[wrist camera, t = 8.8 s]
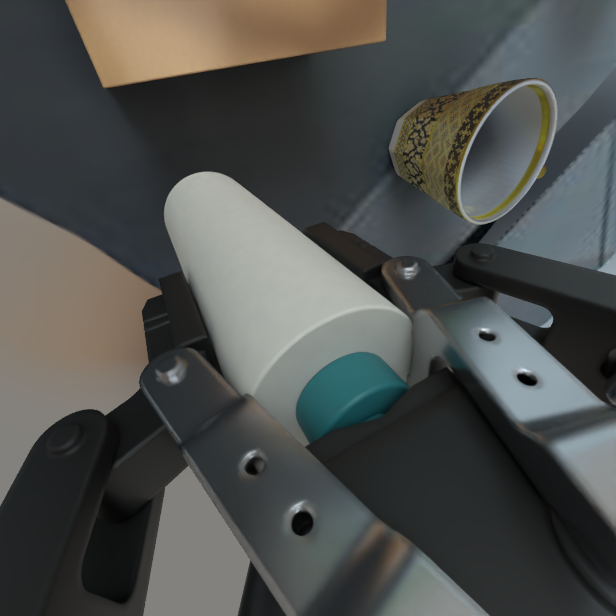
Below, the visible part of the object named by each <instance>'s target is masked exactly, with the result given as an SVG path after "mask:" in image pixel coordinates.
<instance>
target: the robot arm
mask: <svg viewBox="0 0 616 616" xmlns="http://www.w3.org/2000/svg"><path fill="white" fill-rule="evenodd" d="M303 234H304V235H305V236H306V237H308V238H309V239H310V240H311V241H313V242H314V243H315V244H317V245H318V246H319V247H320V248H322V249H323V250H324V251H325V252H327V253H328V254H329V255H331V256H332V257H333V258H334V259H336V260H337V261H338V262H340V263H341V264H342V265H343V266H345V267H346V268H347V269H349V270H350V271H351V272H352V273H354V274H355V275H356V276H357V277H359V278H360V279H361V280H363V281H364V282H365V283H366V284H368V285H369V286H370V287H372V288H373V289H374V290H375V291H377V292H378V293H379V294H380V295H382V296H383V297H384V298H386V299H387V300H388V301H389V302H391V303H392V304H393V305H395V306H396V307H397V308H398V309H400V310H401V311H402V312H403V313H405V314H406V315H407V316H408V317H409V318H410V320H411V322H412V331H411V334H412V338H413V353H412V362H411V371H410V374H408V375H407V380H406V384H407V385H408V386H409V387H410V389H409V390H408V391H407V392H406V393H405V394H404V395H403V396H402V397H401V398H400V399H399V400H398V401H397V402H396V404H395V405H394V406H393V407H392V408H391V409H390V410H389V411H388V412H387V413H386V414H385V415H384V416H382V417H380V418H377V419H374V420H370V421H366V422H363V423H359V424H355V425H352V426H348V427H344V428H341V429H337V430H333V431H332V432H330V433H328V434H326V435H324V436H323V437H321V438H319V439H317V440H316V441H314V442H312V443H310V444H308V445H307V446H305V447H304V446H303V445H302V444H301V443H300V442H299V441H298V440H297V439H296V438H295V437H294V436H293V435H292V434H291V433H290V432H289V431H288V430H287V429H286V428H285V427H284V426H283V425H282V424H281V423H280V422H279V421H278V420H277V419H276V418H274V417H273V416H272V415H271V414H270V413H269V412H268V411H267V410H266V409H265V408H264V407H263V406H262V405H261V404H260V403H259V402H258V401H257V400H256V399H255V398H254V397H253V396H251V395H250V394H248V393H245V394H244V395H243V396H241V395H240V394H239V393H238V392H237V391H236V390H235V389H234V388H233V387H232V386H231V385H230V384H229V383H228V382H227V381H226V380H225V379H224V376H223V373H222V371H221V368H220V365H219V363H218V359H217V357H216V354H215V351H214V349H213V346H212V344H211V341H210V339H209V336H208V333H207V331H206V328H205V326H204V323H203V321H202V318H201V315H200V313H199V310H198V308H197V305H196V302H195V300H194V297H193V295H192V292H191V290H190V287H189V285H188V283H187V280H186V278H185V276H184V274H183V272H182V271H180V272H177V273H174V274H171V275H168V276H165V277H162V278H159V282H160V286H161V290H162V295H159V296H157V297H154V298H151V299H148V300H147V302H146V304H145V306H144V308H143V310H142V316H143V322H144V330H145V338H146V345H147V352H148V359H149V364H148V365H147V366H146V367H145V369H144V370H143V372H142V374H141V376H140V381H139V384H140V389H139V390H138V391H137V392H136V393H135V394H134V395H133V396H132V397H131V398H129V399H128V400H127V401H125V402H124V403H123V404H121V405H120V406H118V407H117V408H116V409H114V410H113V411H111V412H110V413H108V414H107V415H106V416H105V415H104V414H102V413H101V412H100V411H98V410H93V409H87V410H81V411H78V412H75V413H72V414H70V415H68V416H66V417H64V418H62V419H61V420H59V421H58V422H56V423H55V424H53V425H52V426H51V427H50V428H48V429H47V430H46V431H45V432H44V433H43V434H42V435H41V436H40V437H39V439H38V440H37V441H36V442H35V444H34V446H33V447H32V449H31V450H30V452H29V454H28V456H27V458H26V460H25V461H24V463H23V465H22V467H21V469H20V471H19V473H18V474H17V477H16V478H15V480H14V482H13V484H12V486H11V487H10V490H9V491H8V493H7V495H6V497H5V499H4V501H3V502H2V504H1V506H0V616H143V613H144V607H145V601H146V595H147V590H148V584H149V578H150V572H151V566H152V560H153V555H154V549H155V544H156V537H157V532H158V526H159V521H160V514H161V509H162V503H163V497H164V491H165V486H167V485H168V484H169V483H170V482H171V481H172V480H173V479H174V478H175V477H177V476H178V475H179V474H180V473H181V472H182V471H183V470H184V469H185V468H186V467H188V466H190V468H191V469H192V471H193V472H194V474H195V476H196V477H197V479H198V480H199V482H200V483H201V485H202V486H203V488H204V489H205V491H206V492H207V494H208V495H209V497H210V498H211V500H212V502H213V503H214V505H215V506H216V508H217V509H218V511H219V512H220V514H221V515H222V517H223V519H224V520H225V522H226V523H227V525H228V526H229V528H230V529H231V531H232V533H233V534H234V536H235V537H236V539H237V540H238V542H239V543H240V545H241V546H242V548H243V549H244V551H245V552H246V554H247V555H248V557H249V558H250V564H249V569H248V573H247V578H246V582H245V586H244V591H243V595H242V599H241V603H240V608H239V612H238V616H616V275H612V274H607V273H604V272H599V271H595V270H591V269H587V268H583V267H579V266H575V265H571V264H567V263H563V262H559V261H555V260H551V259H547V258H543V257H538V256H534V255H530V254H526V253H522V252H518V251H514V250H510V249H506V248H502V247H498V246H494V245H489V244H480V243H476V244H468V245H464V246H462V247H460V248H458V249H457V250H456V253H455V258H454V263H450V264H445V265H439V266H433V267H432V266H431V265H430V264H429V263H428V262H427V261H425V260H423V259H421V258H417V257H411V256H401V257H396V258H392V257H390V256H389V255H387V254H385V253H384V252H382V251H380V250H379V249H377V248H376V247H374V246H372V245H371V246H370V244H369V243H368V242H366V241H363V240H362V239H361V238H360V237H358V236H356V235H355V234H353V233H349V232H345V231H341V230H340V231H337V230H335V229H334V228H332V227H331V226H329V225H328V224H326V223H324V222H322V223H319V224H316V225H313V226H310V227H308V228H305V229H304V230H303ZM499 293H503V294H506V295H509V296H512V297H515V298H518V299H522V300H525V301H528V302H531V303H534V304H537V305H540V306H542V307H545V308H546V309H548V310H549V311H550V312H551V314H552V316H553V323H552V325H551V327H549V328H541V327H538V326H535V325H532V324H529V323H527V322H524V321H521V320H518V319H516V318H513V317H510V316H508V315H507V314H506V313H505V312H504V311H503V310H502V309H501V308H499V307H498V306H497V305H496V303H497V299H498V296H499Z"/></svg>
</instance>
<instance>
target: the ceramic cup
mask: <svg viewBox="0 0 616 616" xmlns="http://www.w3.org/2000/svg"><path fill="white" fill-rule="evenodd" d="M557 115H558V111H557V100H556V96H555V93H554V91H553V89H552V87H551V86H550V85H549V84H548V83H547V82H546V81H544V80H542V79H538V78H528V79H519V80H512V81H507V82H502V83H497V84H492V85H487V86H484V87H480V88H477V89H474V90H470V91H465V92H459V93H454V94H450V95H445V96H441V97H436V98H431V99H427V100H423V101H420V102H419V103H418V104H416V105H415V106H414V107H413V108H411V109H410V110H409V111H408V112H407V113H405V114H404V115H403V116H402V117H401V118H399V119H398V120H397V123H396V126H395V129H394V132H393V136H392V139H391V142H390V145H389V152H390V156H391V159H392V162H393V165H394V169H395V172H396V173H397V175H399V176H400V177H402V178H403V179H404V180H406V181H408V182H409V183H411V184H412V185H414V186H415V187H417V188H418V189H420V190H421V191H423V192H424V193H426V194H428V195H429V196H431V197H432V198H433V199H434V200H436V201H437V202H438V203H439V204H441V205H442V206H444V207H445V208H447V209H448V210H450V211H451V212H453V213H454V214H456V215H458V216H460V217H461V218H463V219H465V220H467V221H469V222H471V223H473V224H486V223H489V222H492V221H495V220H496V219H498V218H500V217H502V216H503V215H504V214H506V213H507V212H508V211H510V210H511V209H512V208H513V207H514V206H515V205H516V204H517V203H518V202H519V201H520V200H521V199H522V198H523V196H524V195H525V194H526V192H527V191H528V190H529V189H530V187H531V186H532V184H533V183H534V181H535V180H536V178H541V177H543V176H544V174H545V172H546V170H547V168H546V166H545V165H544V163H545V161H546V159H547V156H548V154H549V151H550V148H551V146H552V143H553V139H554V135H555V131H556V125H557Z"/></svg>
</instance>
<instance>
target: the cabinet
mask: <svg viewBox="0 0 616 616" xmlns="http://www.w3.org/2000/svg"><path fill="white" fill-rule="evenodd" d="M386 1H387V0H65V2H66V4H67V6H68V8H69V11H70V13H71V15H72V17H73V20H74V22H75V24H76V27H77V29H78V31H79V33H80V36H81V38H82V40H83V42H84V45H85V47H86V49H87V52H88V54H89V56H90V58H91V61H92V63H93V65H94V67H95V70H96V72H97V74H98V77H99V79H100V81H101V83H102V86H103V87H104V88H111V87H117V86H123V85H129V84H134V83H140V82H146V81H152V80H158V79H164V78H170V77H176V76H182V75H188V74H194V73H200V72H206V71H211V70H217V69H223V68H229V67H235V66H241V65H247V64H253V63H259V62H265V61H271V60H277V59H283V58H288V57H294V56H300V55H306V54H312V53H318V52H324V51H330V50H336V49H342V48H348V47H354V46H360V45H365V44H371V43H377V42H383V41H385V40H386Z"/></svg>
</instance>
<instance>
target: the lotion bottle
mask: <svg viewBox="0 0 616 616" xmlns="http://www.w3.org/2000/svg"><path fill="white" fill-rule="evenodd" d="M164 220H165V225H166V228H167V231H168V233H169V236H170V239H171V241H172V244H173V246H174V249H175V252H176V254H177V257H178V259H179V262H180V264H181V267H182V270H183V272H184V275H185V277H186V280H187V283H188V285H189V287H190V290H191V292H192V295H193V297H194V300H195V302H196V305H197V308H198V310H199V313H200V315H201V318H202V321H203V323H204V326H205V328H206V331H207V333H208V336H209V339H210V341H211V344H212V346H213V349H214V351H215V354H216V357H217V359H218V363H219V365H220V368H221V371H222V373H223V376H224V379H225V380H226V381H227V382H228V383H229V384H230V385H231V386H232V387H233V388H234V389H235V390H236V391H237V392H238V393H239V394H240V395H241V396H243V395H244V394H245V393H248V394H250V395H251V396H253V397H254V398H255V399H256V400H257V401H258V402H259V403H260V404H261V405H262V406H263V407H264V408H265V409H266V410H267V411H268V412H269V413H270V414H271V415H272V416H273V417H274V418H276V419H277V420H278V421H279V422H280V423H281V424H282V425H283V426H284V427H285V428H286V429H287V430H288V431H289V432H290V433H291V434H292V435H293V436H294V437H295V438H296V439H297V440H298V441H299V442H300V443H301V444H302V445H303V446H304V447H305V446H307V445H308V444H310V443H312V442H314V441H316V440H317V439H319V438H321V437H323V436H324V435H326V434H328V433H330V432H332V431H333V430H337V429H341V428H344V427H348V426H352V425H355V424H359V423H363V422H366V421H370V420H374V419H377V418H380V417H382V416H384V415H385V414H386V413H387V412H388V411H389V410H390V409H391V408H392V407H393V406H394V405H395V404H396V402H397V401H398V400H399V399H400V398H401V397H402V396H403V395H404V394H405V393H406V392H407V391H408V390H409V389H410V387H409V386H408V385H407V384H406V380H407V375H408V374H410V371H411V362H412V353H413V338H412V334H411V331H412V322H411V320H410V318H409V317H408V316H407V315H406V314H405V313H403V312H402V311H401V310H400V309H398V308H397V307H396V306H395V305H393V304H392V303H391V302H389V301H388V300H387V299H386V298H384V297H383V296H382V295H380V294H379V293H378V292H377V291H375V290H374V289H373V288H372V287H370V286H369V285H368V284H366V283H365V282H364V281H363V280H361V279H360V278H359V277H357V276H356V275H355V274H354V273H352V272H351V271H350V270H349V269H347V268H346V267H345V266H343V265H342V264H341V263H340V262H338V261H337V260H336V259H334V258H333V257H332V256H331V255H329V254H328V253H327V252H325V251H324V250H323V249H322V248H320V247H319V246H318V245H317V244H315V243H314V242H313V241H311V240H310V239H309V238H308V237H306V236H305V235H304V234H302V233H301V232H300V231H299V230H297V229H296V228H295V227H294V226H292V225H291V224H290V223H288V222H287V221H286V220H285V219H283V218H282V217H281V216H279V215H278V214H277V213H276V212H274V211H273V210H272V209H271V208H269V207H268V206H267V205H265V204H264V203H263V202H262V201H260V200H259V199H258V198H256V197H255V196H254V195H253V194H251V193H250V192H249V191H248V190H246V189H245V188H244V187H242V186H241V185H240V184H239V183H237V182H236V181H235V180H233V179H232V178H230V177H228V176H226V175H223V174H220V173H216V172H199V173H195V174H192V175H189V176H187V177H185V178H184V179H182V180H181V181H180V182H178V183H177V184H176V185H175V186H174V188H173V189H172V190H171V192H170V194H169V195H168V198H167V200H166V203H165V208H164Z"/></svg>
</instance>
